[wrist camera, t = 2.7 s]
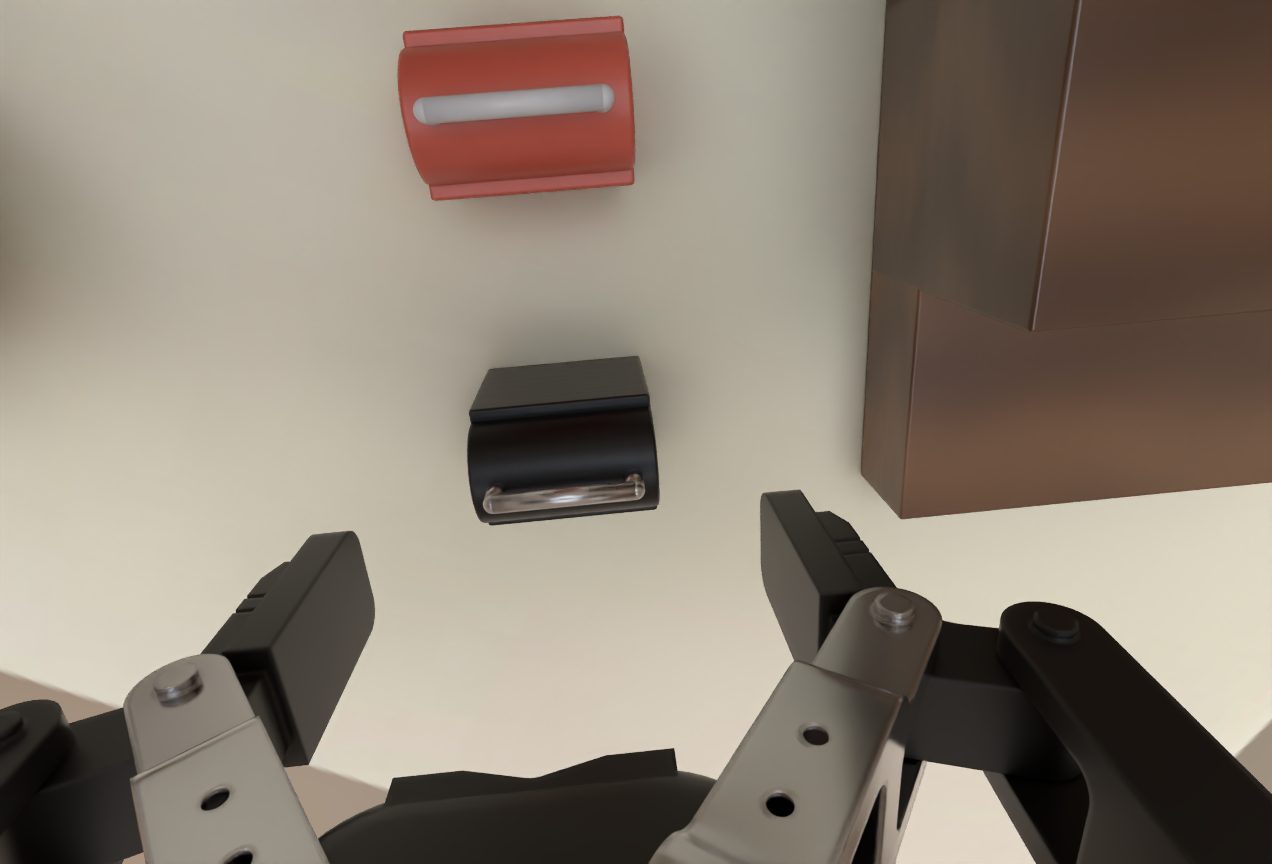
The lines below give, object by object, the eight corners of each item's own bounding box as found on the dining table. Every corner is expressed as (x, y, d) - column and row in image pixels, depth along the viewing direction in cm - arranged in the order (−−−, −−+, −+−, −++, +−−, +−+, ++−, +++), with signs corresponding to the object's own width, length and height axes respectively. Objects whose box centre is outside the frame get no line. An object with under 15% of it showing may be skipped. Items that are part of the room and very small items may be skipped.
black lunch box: (488, 368, 20) (451, 444, 14) (639, 355, 20) (658, 425, 15) (504, 468, 21) (476, 572, 16) (646, 455, 21) (666, 553, 16)
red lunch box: (437, 56, 17) (368, 7, 11) (615, 43, 17) (628, -11, 12) (459, 194, 18) (406, 207, 13) (626, 180, 18) (642, 188, 13)
